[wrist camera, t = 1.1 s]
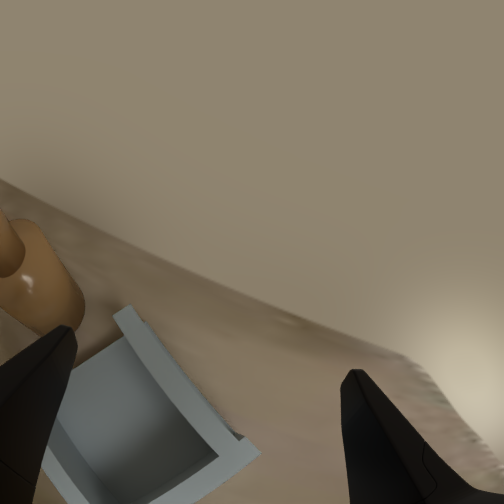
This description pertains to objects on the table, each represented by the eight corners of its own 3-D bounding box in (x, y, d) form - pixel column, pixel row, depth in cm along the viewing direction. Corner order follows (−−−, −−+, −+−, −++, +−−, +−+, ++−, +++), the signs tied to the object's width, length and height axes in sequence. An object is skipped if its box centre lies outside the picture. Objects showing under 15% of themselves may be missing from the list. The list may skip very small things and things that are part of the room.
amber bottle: (44, 353, 20) (-72, 270, 7) (21, 298, 22) (-71, 193, 9) (96, 318, 23) (14, 203, 10) (69, 266, 24) (2, 140, 12)
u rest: (246, 445, 20) (261, 453, 15) (121, 527, 14) (103, 551, 9) (147, 324, 23) (136, 299, 19) (31, 402, 17) (-4, 393, 13)
